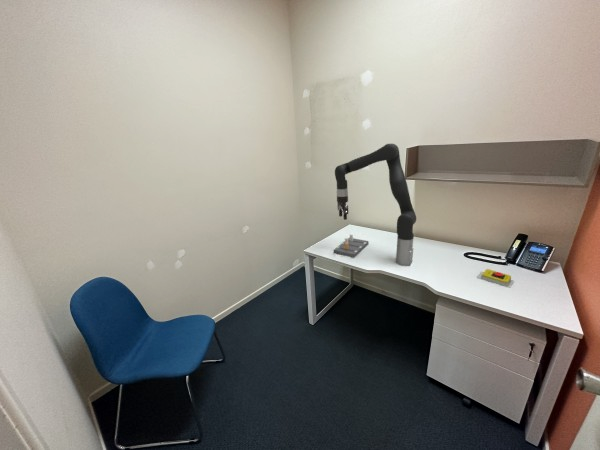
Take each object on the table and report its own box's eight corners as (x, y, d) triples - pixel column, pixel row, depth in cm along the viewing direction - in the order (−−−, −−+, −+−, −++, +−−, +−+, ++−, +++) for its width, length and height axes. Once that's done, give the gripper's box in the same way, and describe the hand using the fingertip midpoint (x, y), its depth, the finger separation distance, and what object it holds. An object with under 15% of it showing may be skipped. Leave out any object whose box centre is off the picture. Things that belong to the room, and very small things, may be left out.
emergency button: (511, 281, 127) (477, 271, 138) (509, 289, 128) (475, 278, 139) (516, 274, 132) (482, 265, 143) (514, 281, 134) (481, 272, 145)
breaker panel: (368, 244, 191) (368, 235, 188) (354, 257, 171) (354, 248, 169) (349, 240, 200) (349, 231, 198) (333, 253, 180) (333, 243, 178)
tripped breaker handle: (348, 248, 179) (348, 243, 177) (347, 249, 177) (347, 243, 176) (346, 248, 180) (345, 242, 178) (345, 249, 179) (344, 243, 177)
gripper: (351, 196, 163) (352, 220, 168) (343, 192, 176) (344, 214, 181) (340, 197, 161) (341, 221, 166) (333, 193, 175) (334, 215, 180)
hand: (342, 217), depth 174 cm, fingers open, 8 cm apart
